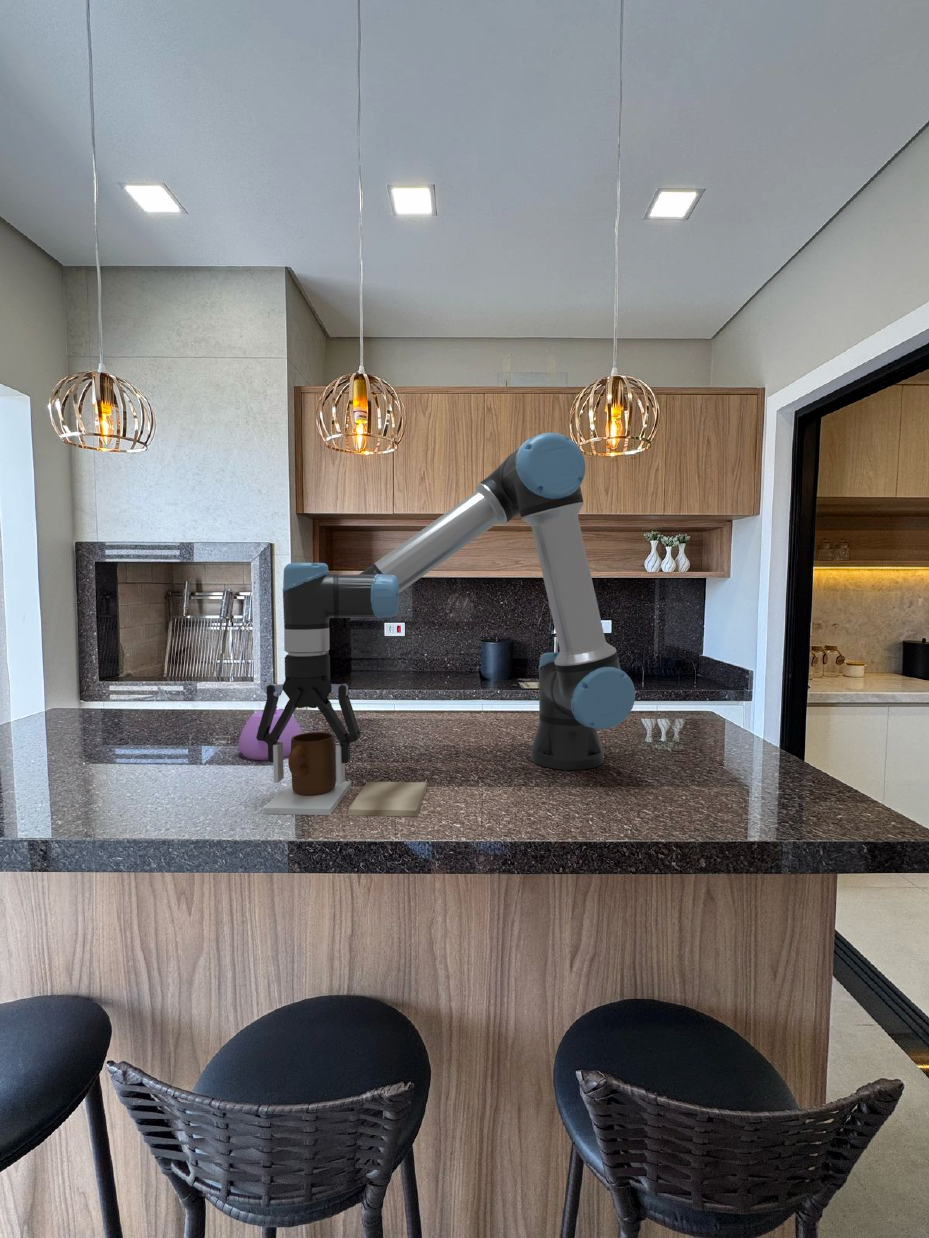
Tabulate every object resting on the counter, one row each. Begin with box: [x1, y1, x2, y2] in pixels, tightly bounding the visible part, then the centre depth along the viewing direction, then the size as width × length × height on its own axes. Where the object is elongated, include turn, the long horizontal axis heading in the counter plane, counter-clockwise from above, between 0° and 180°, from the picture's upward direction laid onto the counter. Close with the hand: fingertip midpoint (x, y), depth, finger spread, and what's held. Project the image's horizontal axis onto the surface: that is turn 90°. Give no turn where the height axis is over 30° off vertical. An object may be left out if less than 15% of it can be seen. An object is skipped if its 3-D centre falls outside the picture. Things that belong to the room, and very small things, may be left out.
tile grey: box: [262, 780, 352, 816], centre depth 106 cm, size 11×14×1 cm
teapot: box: [238, 705, 303, 761], centre depth 136 cm, size 14×20×11 cm
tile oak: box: [347, 781, 428, 817], centre depth 105 cm, size 11×14×1 cm
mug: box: [287, 731, 337, 795], centre depth 105 cm, size 12×8×9 cm, turn 169°
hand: (309, 780), depth 105 cm, fingers open, 10 cm apart
